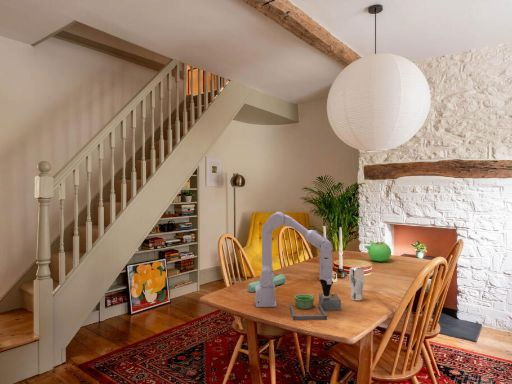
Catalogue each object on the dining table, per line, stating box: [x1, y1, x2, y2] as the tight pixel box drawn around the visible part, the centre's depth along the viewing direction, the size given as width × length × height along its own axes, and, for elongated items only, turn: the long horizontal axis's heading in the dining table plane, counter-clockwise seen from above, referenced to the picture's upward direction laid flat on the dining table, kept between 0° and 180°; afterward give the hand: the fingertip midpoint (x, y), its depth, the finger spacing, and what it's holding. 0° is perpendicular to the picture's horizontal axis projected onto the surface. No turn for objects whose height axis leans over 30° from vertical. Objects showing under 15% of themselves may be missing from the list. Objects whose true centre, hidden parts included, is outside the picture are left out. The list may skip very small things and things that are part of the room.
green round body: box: [364, 240, 392, 263], centre depth 250 cm, size 18×17×15 cm
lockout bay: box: [289, 303, 328, 321], centre depth 147 cm, size 14×14×2 cm
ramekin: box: [294, 293, 315, 310], centre depth 157 cm, size 9×9×4 cm
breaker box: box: [318, 292, 342, 311], centre depth 156 cm, size 8×10×5 cm
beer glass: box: [348, 266, 365, 302], centre depth 166 cm, size 7×7×15 cm
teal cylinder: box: [247, 273, 287, 293], centre depth 187 cm, size 6×6×25 cm
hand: (326, 295), depth 156 cm, fingers closed, pressing on breaker button
